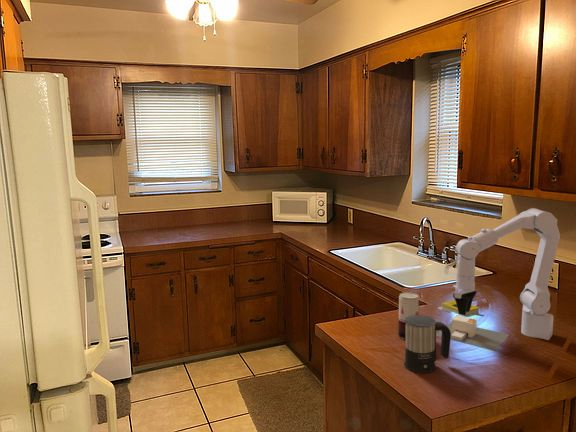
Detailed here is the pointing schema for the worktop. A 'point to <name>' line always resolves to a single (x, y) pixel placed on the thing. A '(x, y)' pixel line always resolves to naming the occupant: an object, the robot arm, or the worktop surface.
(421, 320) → the milk frother
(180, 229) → the worktop surface
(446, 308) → the emergency button
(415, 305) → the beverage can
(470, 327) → the block
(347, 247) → the worktop surface
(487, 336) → the rail panel
